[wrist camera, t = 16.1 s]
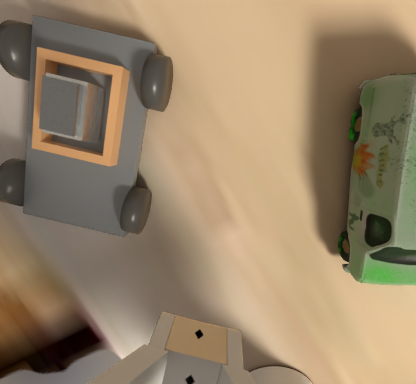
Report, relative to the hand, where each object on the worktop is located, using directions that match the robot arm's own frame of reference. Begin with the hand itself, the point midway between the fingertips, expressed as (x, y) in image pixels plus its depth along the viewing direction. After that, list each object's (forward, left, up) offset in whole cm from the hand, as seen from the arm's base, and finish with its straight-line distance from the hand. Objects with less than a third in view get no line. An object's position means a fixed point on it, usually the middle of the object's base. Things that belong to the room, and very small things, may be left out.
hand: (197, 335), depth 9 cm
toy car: (+6, -22, -26) cm, 34 cm away
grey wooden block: (+6, +18, -22) cm, 29 cm away
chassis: (+3, +18, -26) cm, 31 cm away
